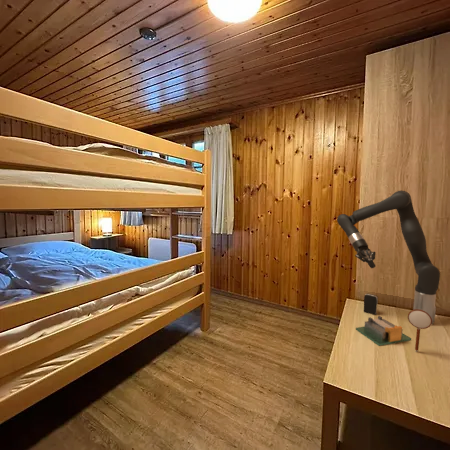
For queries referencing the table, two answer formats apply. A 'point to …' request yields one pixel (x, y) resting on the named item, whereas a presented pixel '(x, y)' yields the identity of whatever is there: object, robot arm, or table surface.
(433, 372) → the table surface
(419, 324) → the magnifying glass
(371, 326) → the circuit board
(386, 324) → the light grey flat bar
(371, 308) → the battery
